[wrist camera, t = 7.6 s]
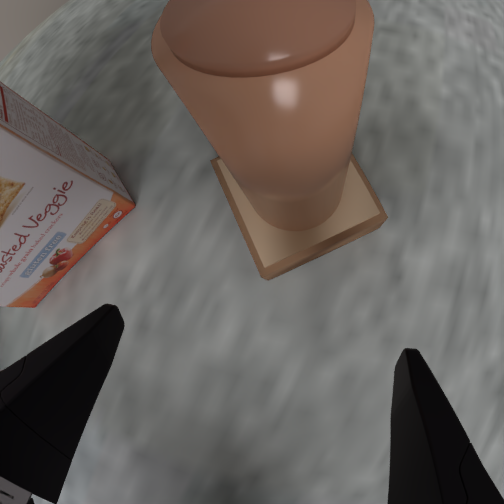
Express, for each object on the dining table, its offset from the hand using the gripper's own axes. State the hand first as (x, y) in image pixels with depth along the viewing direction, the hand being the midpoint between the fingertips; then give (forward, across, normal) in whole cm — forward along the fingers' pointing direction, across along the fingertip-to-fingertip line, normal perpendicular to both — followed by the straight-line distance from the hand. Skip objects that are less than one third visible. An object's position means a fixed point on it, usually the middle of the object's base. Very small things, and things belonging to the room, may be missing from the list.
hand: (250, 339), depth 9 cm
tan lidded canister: (+11, 0, 0) cm, 11 cm away
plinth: (+14, 0, +2) cm, 14 cm away
